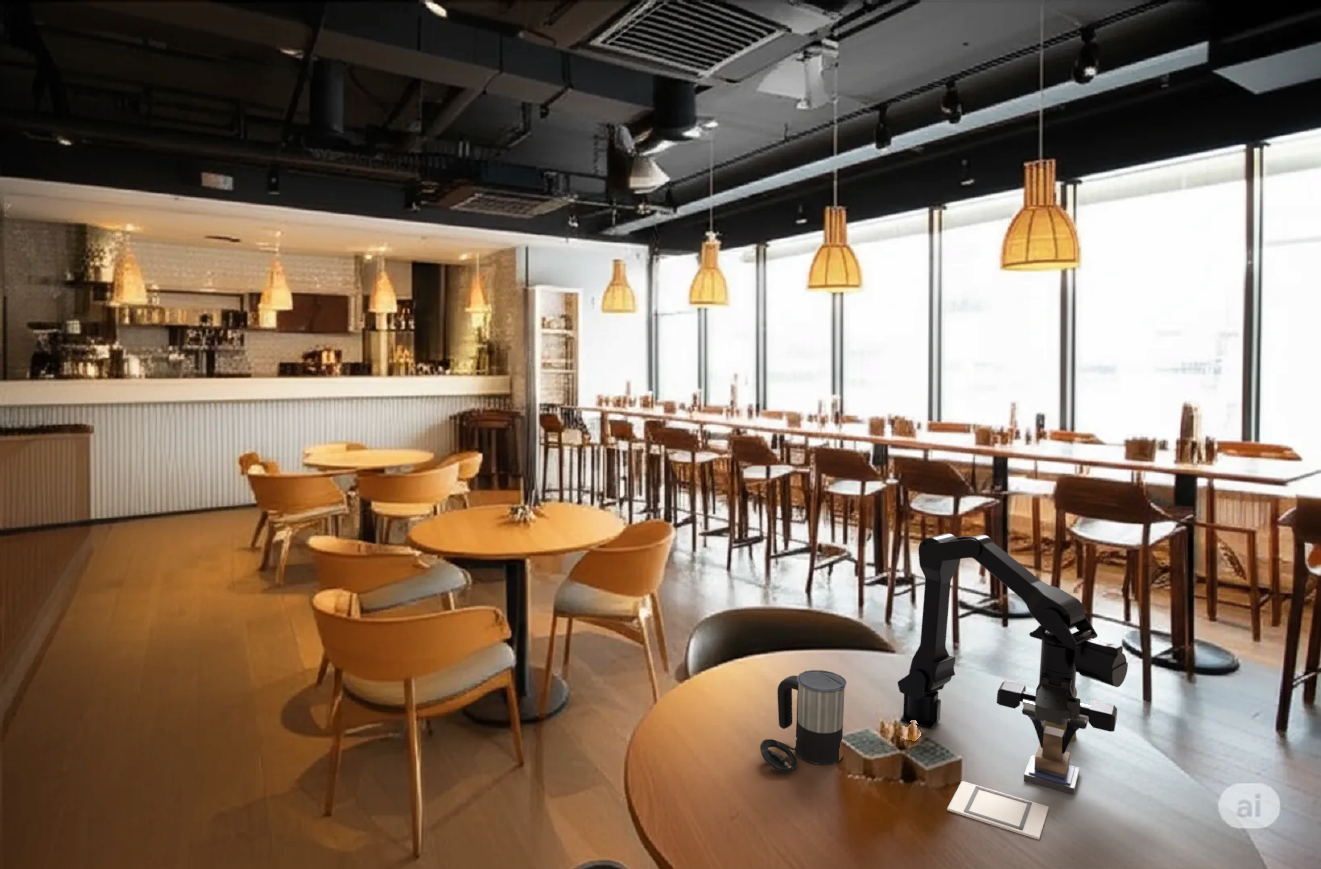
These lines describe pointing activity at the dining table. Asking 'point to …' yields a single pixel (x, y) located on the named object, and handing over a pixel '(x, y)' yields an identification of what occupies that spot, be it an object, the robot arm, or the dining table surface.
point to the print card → (999, 809)
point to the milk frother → (809, 719)
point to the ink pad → (1052, 778)
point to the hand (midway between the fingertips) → (1052, 749)
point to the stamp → (1052, 754)
